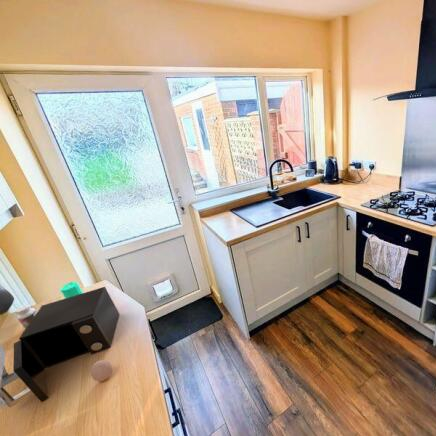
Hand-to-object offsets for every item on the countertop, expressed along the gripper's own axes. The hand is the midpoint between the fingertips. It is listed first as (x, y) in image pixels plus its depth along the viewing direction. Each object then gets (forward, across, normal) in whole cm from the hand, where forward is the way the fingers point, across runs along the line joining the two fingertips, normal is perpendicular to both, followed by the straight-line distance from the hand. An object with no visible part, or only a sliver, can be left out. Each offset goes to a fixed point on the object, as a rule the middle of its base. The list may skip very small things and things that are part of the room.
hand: (3, 392), depth 66 cm
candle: (+10, +46, -17) cm, 50 cm away
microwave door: (+10, +7, -1) cm, 12 cm away
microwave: (+10, +17, -16) cm, 26 cm away
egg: (+10, -6, -19) cm, 23 cm away
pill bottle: (+10, +45, -2) cm, 46 cm away
